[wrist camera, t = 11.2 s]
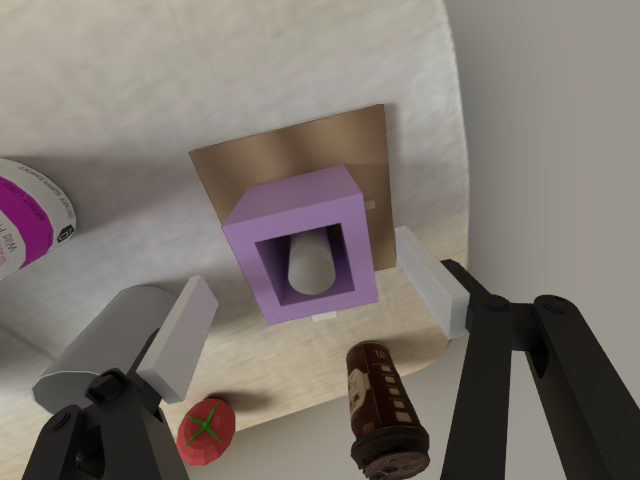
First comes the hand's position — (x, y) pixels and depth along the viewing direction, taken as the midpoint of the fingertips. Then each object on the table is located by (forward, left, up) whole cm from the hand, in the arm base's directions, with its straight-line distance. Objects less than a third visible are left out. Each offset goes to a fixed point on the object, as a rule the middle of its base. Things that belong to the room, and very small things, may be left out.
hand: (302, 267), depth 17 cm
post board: (+1, 0, -9) cm, 9 cm away
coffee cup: (+4, -24, -9) cm, 26 cm away
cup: (-20, -8, -9) cm, 24 cm away
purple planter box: (0, 0, -8) cm, 8 cm away
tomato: (-21, -28, -9) cm, 36 cm away
